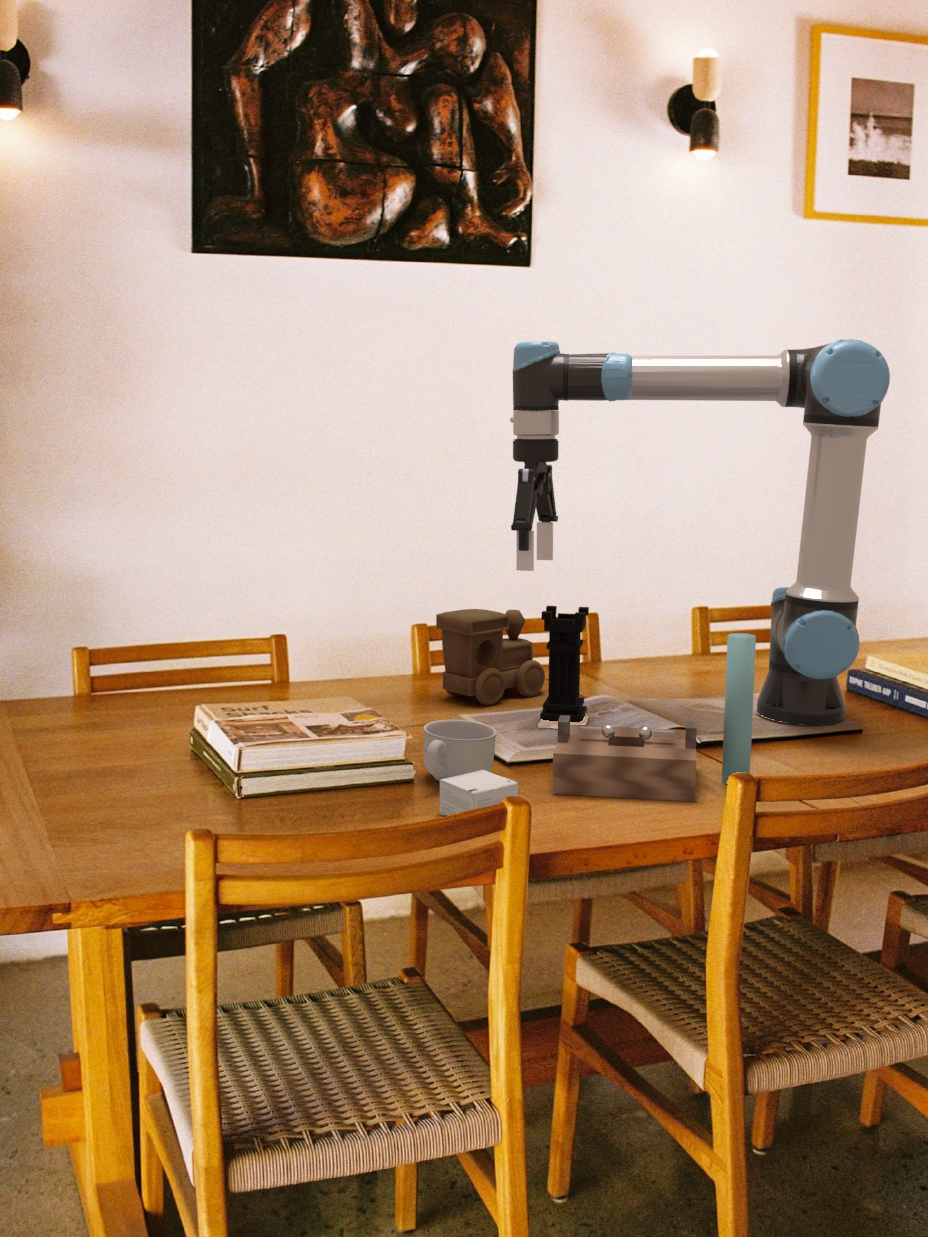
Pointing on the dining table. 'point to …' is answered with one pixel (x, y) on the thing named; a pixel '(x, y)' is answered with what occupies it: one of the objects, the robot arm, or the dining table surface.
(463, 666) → the wooden toy train
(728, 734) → the teal peg
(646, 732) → the plunger
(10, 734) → the dining table surface
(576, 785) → the walnut socket block
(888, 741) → the dining table surface
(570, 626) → the chess piece
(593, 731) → the plunger
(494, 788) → the small box
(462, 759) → the teacup
